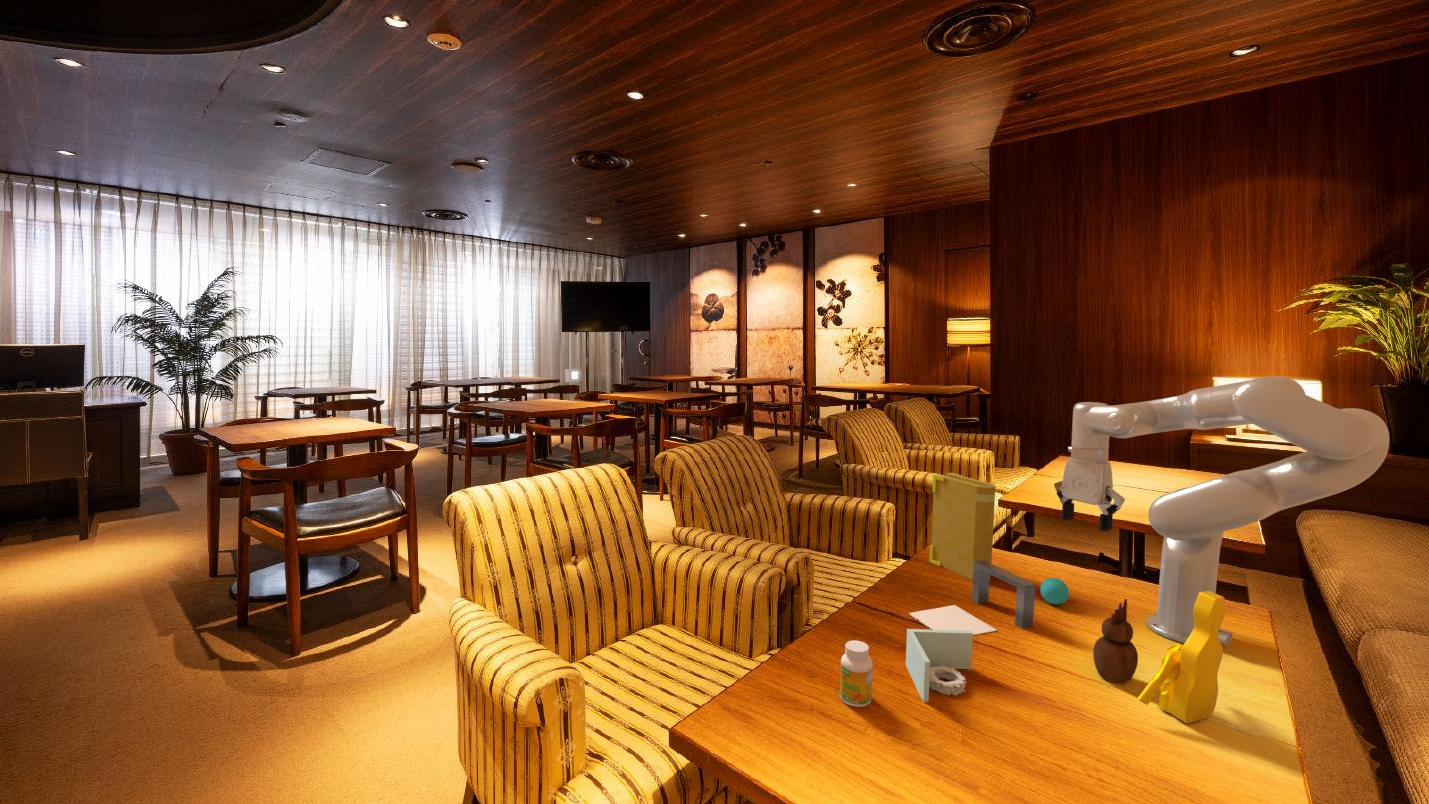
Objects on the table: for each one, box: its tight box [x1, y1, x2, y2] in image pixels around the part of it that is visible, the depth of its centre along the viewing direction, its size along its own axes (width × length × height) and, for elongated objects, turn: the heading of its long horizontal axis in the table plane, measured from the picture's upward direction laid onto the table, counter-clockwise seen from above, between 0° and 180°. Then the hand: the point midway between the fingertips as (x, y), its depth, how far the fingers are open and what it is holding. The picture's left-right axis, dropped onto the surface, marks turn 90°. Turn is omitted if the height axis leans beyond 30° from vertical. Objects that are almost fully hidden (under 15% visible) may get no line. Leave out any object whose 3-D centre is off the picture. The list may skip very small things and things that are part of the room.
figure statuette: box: [1137, 591, 1226, 724], centre depth 101 cm, size 18×8×22 cm, turn 110°
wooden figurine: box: [1092, 598, 1139, 684], centre depth 112 cm, size 7×6×15 cm
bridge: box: [971, 560, 1036, 630], centre depth 139 cm, size 3×15×10 cm, turn 19°
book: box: [928, 472, 996, 582], centre depth 164 cm, size 17×7×25 cm, turn 25°
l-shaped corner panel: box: [905, 628, 974, 703], centre depth 110 cm, size 12×12×8 cm
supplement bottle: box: [839, 640, 874, 708], centre depth 105 cm, size 5×5×10 cm
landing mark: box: [908, 604, 998, 637], centre depth 135 cm, size 13×13×1 cm
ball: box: [1039, 577, 1070, 605], centre depth 144 cm, size 6×6×6 cm
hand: (1085, 524), depth 146 cm, fingers open, 9 cm apart
